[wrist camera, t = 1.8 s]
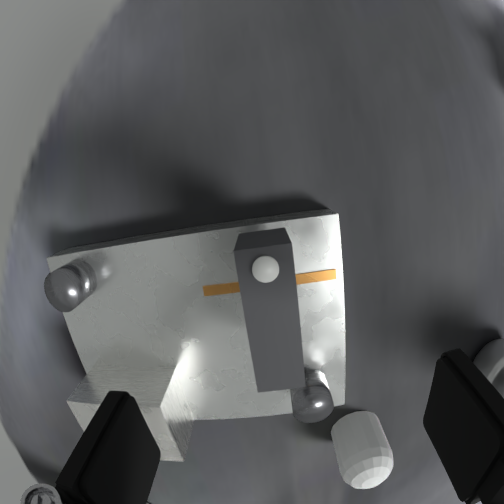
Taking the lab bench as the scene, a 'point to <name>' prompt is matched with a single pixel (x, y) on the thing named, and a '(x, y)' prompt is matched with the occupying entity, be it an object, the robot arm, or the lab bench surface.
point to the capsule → (362, 450)
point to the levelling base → (196, 324)
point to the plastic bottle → (492, 363)
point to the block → (271, 308)
